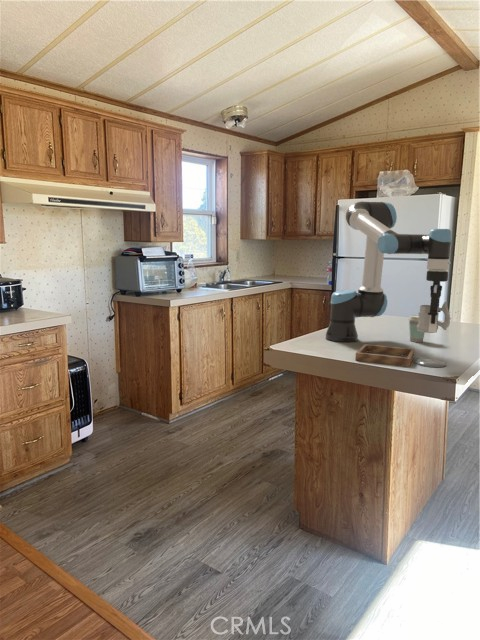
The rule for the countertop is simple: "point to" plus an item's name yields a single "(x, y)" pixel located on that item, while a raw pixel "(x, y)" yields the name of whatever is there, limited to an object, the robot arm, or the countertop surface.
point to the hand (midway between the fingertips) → (432, 330)
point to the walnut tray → (384, 359)
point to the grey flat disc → (430, 363)
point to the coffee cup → (415, 329)
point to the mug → (424, 317)
